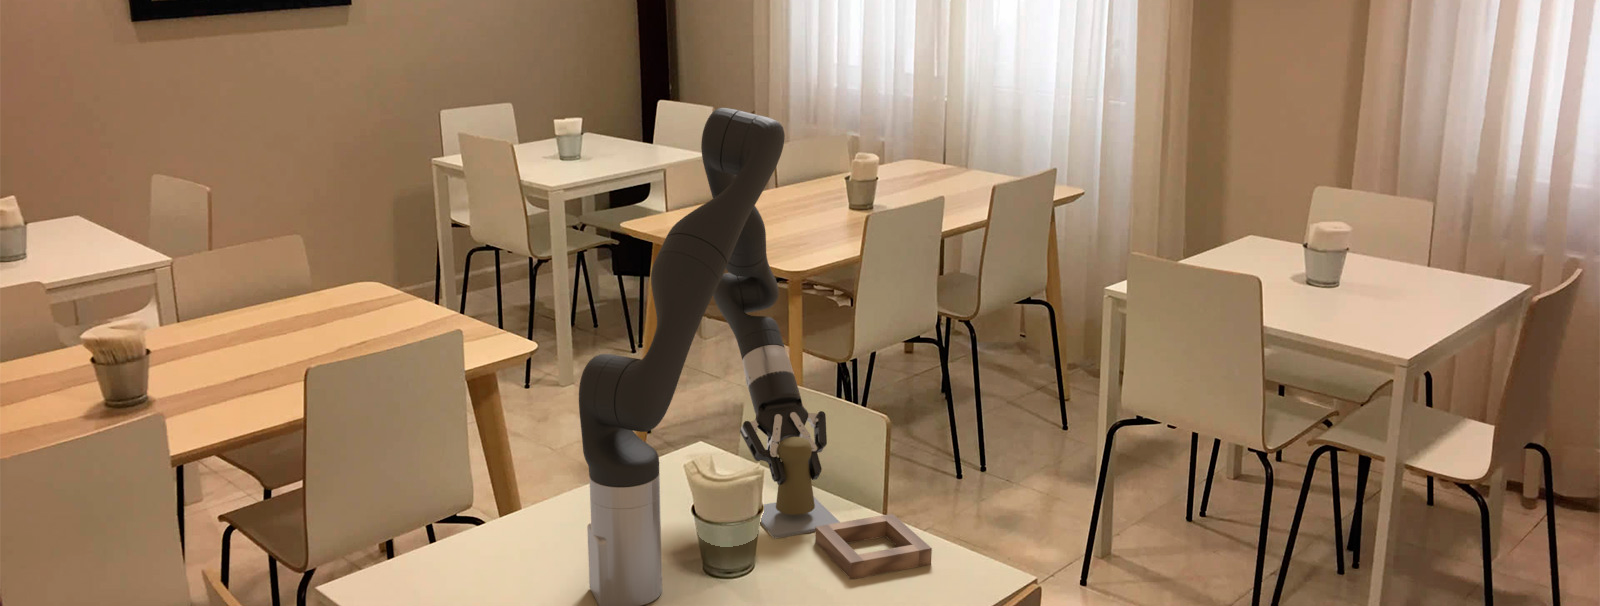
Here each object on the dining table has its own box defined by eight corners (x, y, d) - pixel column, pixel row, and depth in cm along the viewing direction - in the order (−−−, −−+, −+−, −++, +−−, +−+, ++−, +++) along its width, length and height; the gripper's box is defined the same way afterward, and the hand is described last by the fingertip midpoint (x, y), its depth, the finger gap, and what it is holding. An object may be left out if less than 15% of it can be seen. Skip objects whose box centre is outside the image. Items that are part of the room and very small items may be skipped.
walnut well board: (850, 579, 180) (850, 562, 179) (815, 542, 191) (815, 526, 190) (931, 564, 184) (931, 548, 184) (892, 528, 196) (892, 513, 195)
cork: (810, 516, 195) (810, 448, 192) (771, 513, 196) (770, 445, 193) (818, 499, 201) (818, 433, 198) (780, 496, 202) (779, 430, 199)
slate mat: (774, 538, 192) (774, 535, 192) (748, 509, 202) (748, 506, 202) (841, 526, 196) (841, 523, 196) (813, 499, 206) (813, 496, 206)
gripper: (733, 374, 197) (760, 477, 190) (819, 364, 203) (850, 463, 195) (722, 396, 204) (748, 496, 196) (806, 386, 209) (835, 483, 201)
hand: (799, 479), depth 196 cm, fingers closed on cork, 5 cm apart
